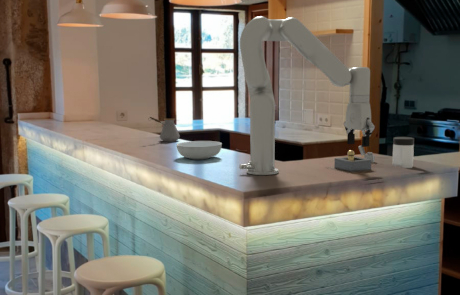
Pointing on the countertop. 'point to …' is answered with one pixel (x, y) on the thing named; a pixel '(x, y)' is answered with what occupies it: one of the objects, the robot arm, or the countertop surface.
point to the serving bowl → (199, 149)
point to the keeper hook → (351, 155)
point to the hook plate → (347, 171)
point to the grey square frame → (352, 164)
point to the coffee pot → (168, 130)
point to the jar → (403, 151)
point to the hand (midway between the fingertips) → (358, 145)
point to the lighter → (368, 155)
